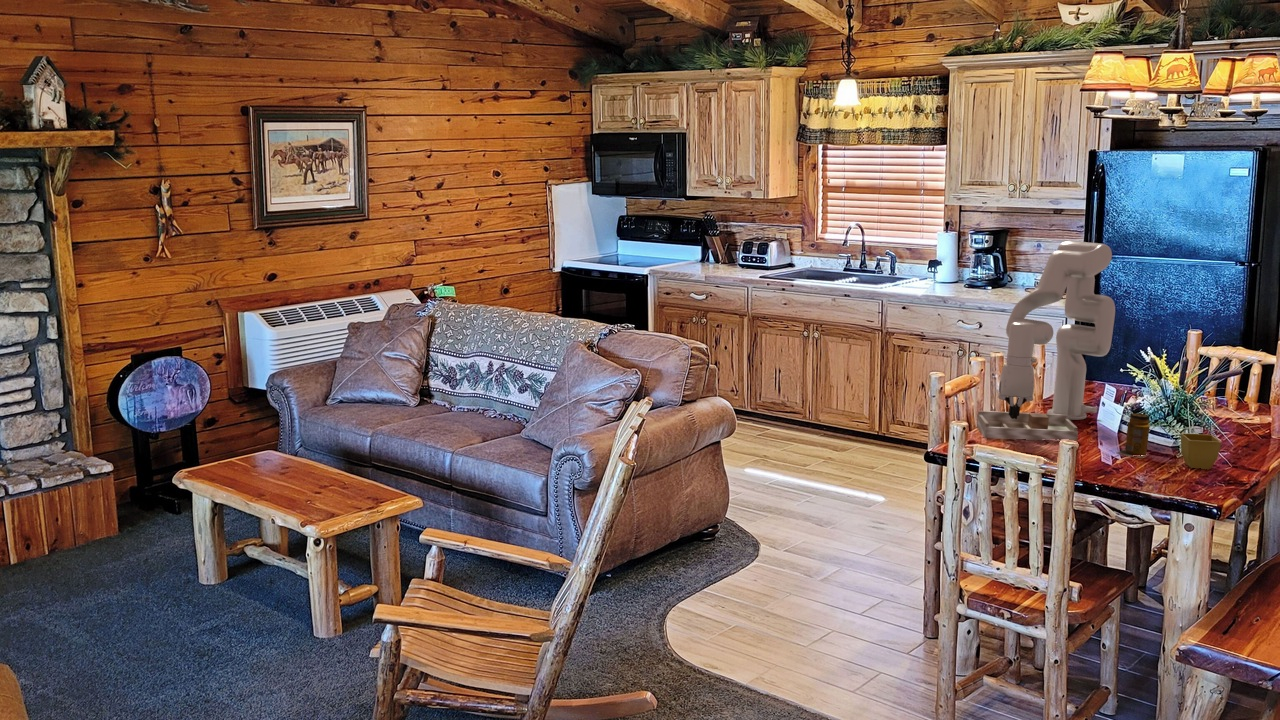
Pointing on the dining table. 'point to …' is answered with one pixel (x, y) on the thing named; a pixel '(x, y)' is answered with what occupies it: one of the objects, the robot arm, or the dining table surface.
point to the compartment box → (1024, 427)
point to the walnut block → (1038, 421)
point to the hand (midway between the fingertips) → (1013, 417)
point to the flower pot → (1199, 450)
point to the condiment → (1137, 435)
